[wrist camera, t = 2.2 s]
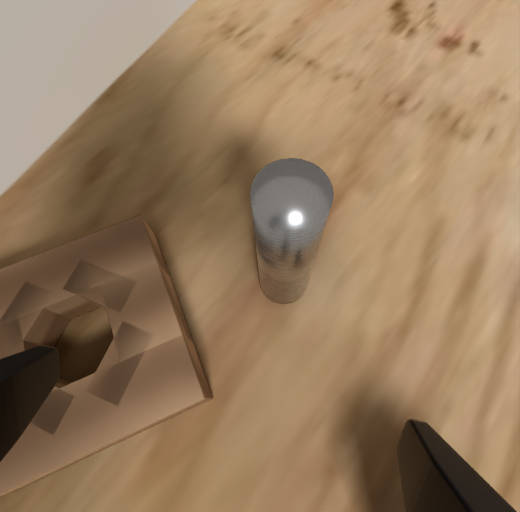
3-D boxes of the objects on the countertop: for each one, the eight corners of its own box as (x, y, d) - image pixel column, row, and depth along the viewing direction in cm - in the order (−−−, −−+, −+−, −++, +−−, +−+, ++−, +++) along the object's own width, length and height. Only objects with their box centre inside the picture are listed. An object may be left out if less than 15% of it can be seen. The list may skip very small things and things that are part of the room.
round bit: (315, 292, 23) (348, 209, 13) (271, 311, 23) (270, 242, 13) (294, 252, 24) (309, 147, 14) (252, 269, 24) (237, 175, 14)
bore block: (213, 398, 21) (204, 398, 18) (13, 491, 19) (-30, 506, 17) (155, 234, 25) (140, 214, 22) (-12, 300, 24) (-50, 288, 21)
